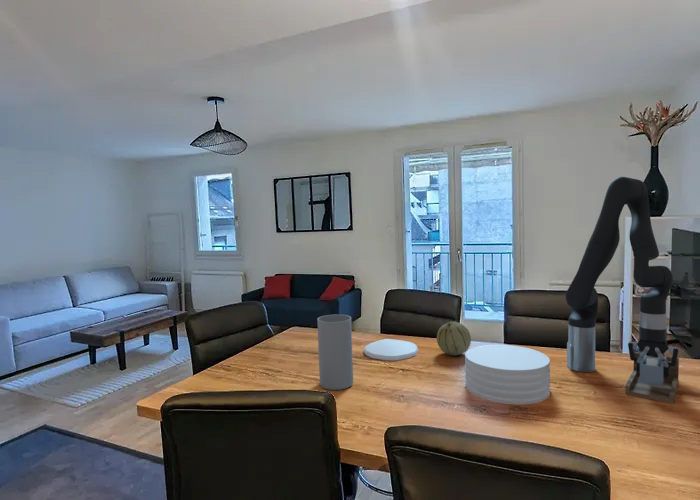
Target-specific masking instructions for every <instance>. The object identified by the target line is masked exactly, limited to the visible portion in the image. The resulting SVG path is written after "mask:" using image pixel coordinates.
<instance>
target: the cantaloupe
mask: <svg viewBox="0 0 700 500" xmlns="http://www.w3.org/2000/svg"><path fill="white" fill-rule="evenodd" d="M471 336H472V335H471V332H470V331H469V330H468V327H466V326H465V325H464V324H462V323H461V322H458V321H448V322H446V323H444V324H442V325H441V326H440V327H439V329H438V331H437V334H436V343H437V346H438V347H439V349H440V350H441V351H442V352H443V353H445V354H446V355H448V356H460V355H462V354H465V353H466V351H467V350H469V349H470V347H471V342H472V341H471V340H472V337H471Z"/></svg>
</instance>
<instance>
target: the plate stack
mask: <svg viewBox="0 0 700 500" xmlns="http://www.w3.org/2000/svg"><path fill="white" fill-rule="evenodd" d="M464 355H465V356H464V359H465V361H464V364H465V365H464V366H465V368H464V371H465V372H464V373H465V375H464V377H465V384H464V385H465V388H466V389H467V391H469V392H470V394H472V395H474V396H476V397H478V398H481V399H483V400H486V401H491V402H493V403H499V404H506V405H529V404H530V405H531V404H537V403H540V402H543V401H545V400H547V399H548V398H549V397H550V394H551V382H550V381H551V375H550V374H551V367H550V365H551V359H550V357H549V356H547V355H546V354H545V353H542V351H538V350H535V349H532V348H530V347H529V348H528V347H525V346H518V345H510V344H485V345H479V346H478V345H477V346H474V347H471V348H468V350H467V351H466V352H464Z"/></svg>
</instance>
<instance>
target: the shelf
mask: <svg viewBox="0 0 700 500" xmlns="http://www.w3.org/2000/svg"><path fill="white" fill-rule="evenodd" d="M634 352H635V356H636V357H639V356H640V354H641V352H640V351H634ZM665 356H666V355H665ZM666 359H667V360H668V362H670V361H672V356H666ZM679 363H680V358H678V357H677V360H676V365H675V366H670V367H669V376H668V377H667V376H666V378H664V382H663V386H659V385H653V384H647V383H641V382H640V374H639V372H637V362H636V361H633V370H632V372H631V374H630V376H629V378H628V380H627V381H626V382H625V383H626V384H625V385H624V388H625V389H624V394H625V395H630V396H635V397H639V398H644V399H649V400H655V401H658V402H663V403H669V404H673V405H674V404H675V401H676V400H675V399H676V396H677V391H678V387H679V371H680V370H679V367H680V364H679Z"/></svg>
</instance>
